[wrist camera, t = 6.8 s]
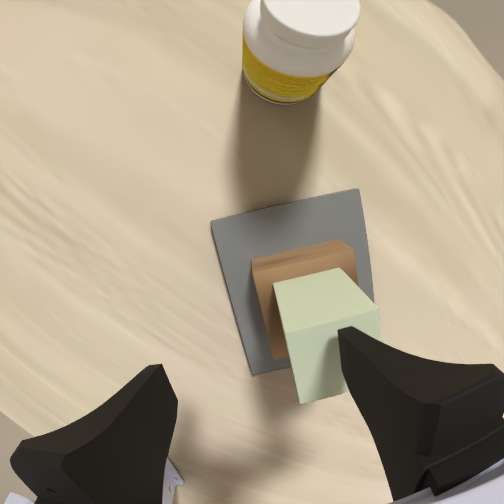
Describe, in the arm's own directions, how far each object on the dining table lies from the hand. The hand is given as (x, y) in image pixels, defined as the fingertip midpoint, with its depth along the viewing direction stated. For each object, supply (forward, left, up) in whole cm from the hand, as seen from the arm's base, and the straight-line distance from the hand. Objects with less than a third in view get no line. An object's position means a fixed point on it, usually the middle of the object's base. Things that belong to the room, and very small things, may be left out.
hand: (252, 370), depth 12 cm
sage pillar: (-1, -4, -7) cm, 8 cm away
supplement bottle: (+14, -6, -11) cm, 18 cm away
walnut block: (-1, -4, -10) cm, 10 cm away
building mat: (-1, -4, -10) cm, 11 cm away
